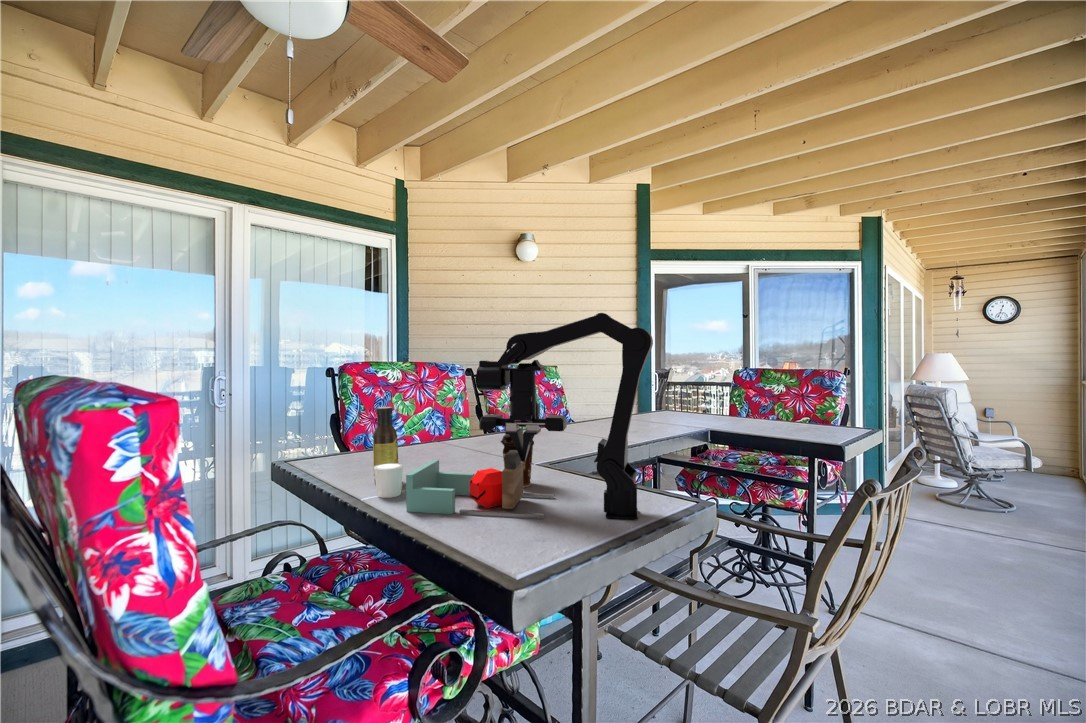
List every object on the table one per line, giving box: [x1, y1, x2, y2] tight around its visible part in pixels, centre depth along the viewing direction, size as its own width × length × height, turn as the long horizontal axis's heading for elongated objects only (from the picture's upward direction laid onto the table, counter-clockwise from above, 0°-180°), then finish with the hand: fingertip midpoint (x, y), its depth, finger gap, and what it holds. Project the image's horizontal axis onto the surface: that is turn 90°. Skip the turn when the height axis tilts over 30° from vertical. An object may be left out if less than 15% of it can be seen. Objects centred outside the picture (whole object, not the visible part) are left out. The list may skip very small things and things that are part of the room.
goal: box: [405, 459, 475, 515], centre depth 114 cm, size 10×15×8 cm
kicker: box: [501, 450, 524, 510], centre depth 111 cm, size 2×10×11 cm, turn 170°
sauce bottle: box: [372, 406, 399, 484], centre depth 132 cm, size 6×6×20 cm
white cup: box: [373, 462, 404, 499], centre depth 121 cm, size 7×7×7 cm
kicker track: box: [458, 492, 555, 520], centre depth 112 cm, size 18×15×1 cm
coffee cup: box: [500, 434, 535, 489], centre depth 129 cm, size 9×8×13 cm
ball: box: [469, 467, 503, 509], centre depth 113 cm, size 8×8×8 cm
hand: (523, 461), depth 111 cm, fingers closed
